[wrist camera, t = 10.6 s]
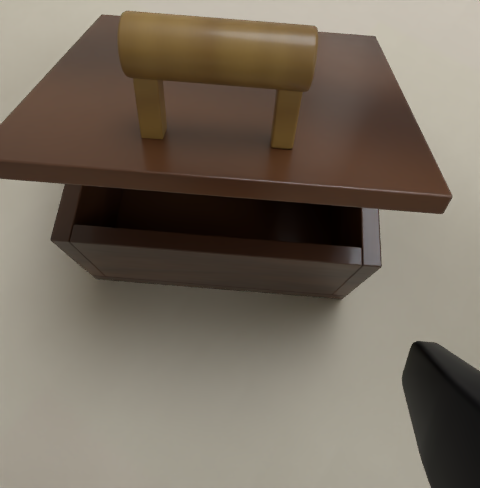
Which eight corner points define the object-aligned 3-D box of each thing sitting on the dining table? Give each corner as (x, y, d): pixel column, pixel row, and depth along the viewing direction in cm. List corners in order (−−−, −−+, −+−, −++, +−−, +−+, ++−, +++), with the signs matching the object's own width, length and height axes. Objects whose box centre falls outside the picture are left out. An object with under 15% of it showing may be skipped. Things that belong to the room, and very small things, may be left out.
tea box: (342, 299, 22) (382, 267, 16) (95, 279, 22) (49, 240, 16) (340, 124, 26) (370, 49, 20) (131, 107, 26) (105, 28, 20)
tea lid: (443, 215, 12) (523, 75, 9) (-22, 177, 12) (-101, 25, 9) (371, 50, 20) (399, -49, 17) (103, 29, 20) (85, -74, 17)
